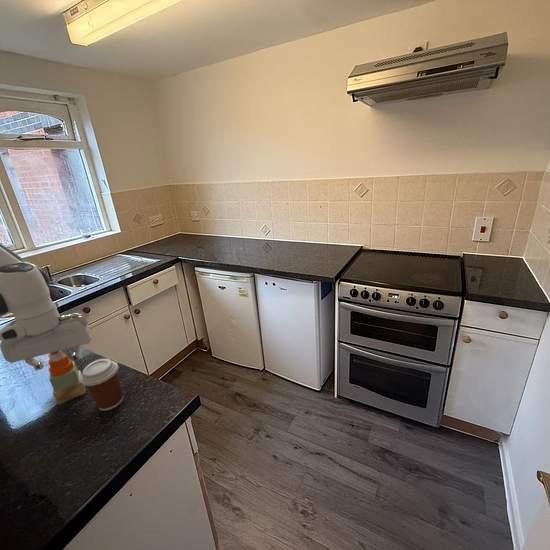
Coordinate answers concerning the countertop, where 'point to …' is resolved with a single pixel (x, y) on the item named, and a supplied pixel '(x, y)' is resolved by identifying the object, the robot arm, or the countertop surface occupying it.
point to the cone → (59, 364)
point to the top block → (65, 379)
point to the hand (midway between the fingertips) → (59, 363)
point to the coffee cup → (103, 383)
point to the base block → (70, 391)
